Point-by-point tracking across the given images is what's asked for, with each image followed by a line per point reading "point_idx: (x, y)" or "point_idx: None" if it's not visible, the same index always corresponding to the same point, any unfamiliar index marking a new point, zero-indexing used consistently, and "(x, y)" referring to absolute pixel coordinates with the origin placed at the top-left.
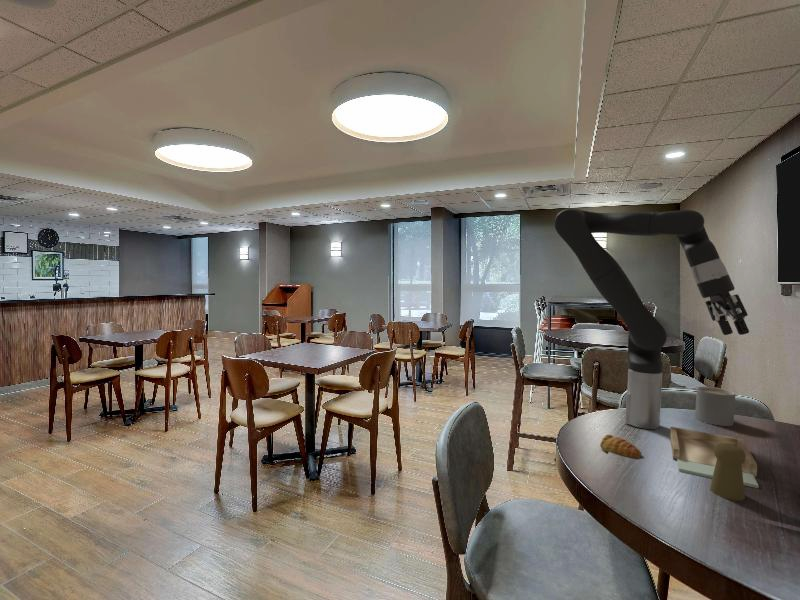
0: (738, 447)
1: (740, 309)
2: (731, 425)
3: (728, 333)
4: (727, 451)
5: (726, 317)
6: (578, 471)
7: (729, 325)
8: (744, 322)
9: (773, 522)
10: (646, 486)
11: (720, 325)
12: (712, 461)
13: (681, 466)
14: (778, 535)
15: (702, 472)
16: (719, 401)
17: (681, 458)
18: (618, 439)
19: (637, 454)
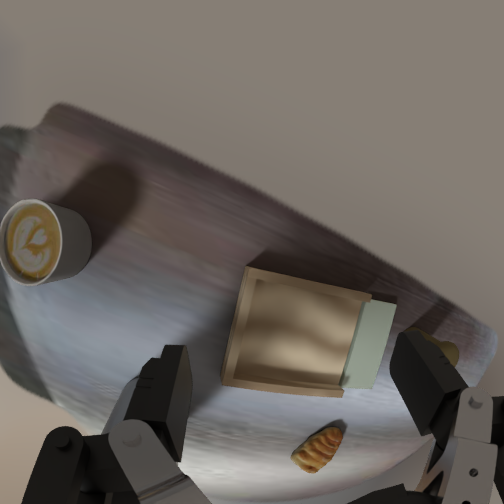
0: (452, 351)
1: (493, 444)
2: (83, 218)
3: (187, 367)
4: (456, 364)
5: (167, 452)
6: (379, 471)
7: (173, 387)
8: (461, 379)
9: (444, 314)
10: (402, 416)
11: (182, 442)
12: (335, 341)
13: (365, 385)
14: (458, 318)
15: (377, 363)
16: (69, 247)
17: (335, 381)
18: (320, 459)
19: (340, 432)
